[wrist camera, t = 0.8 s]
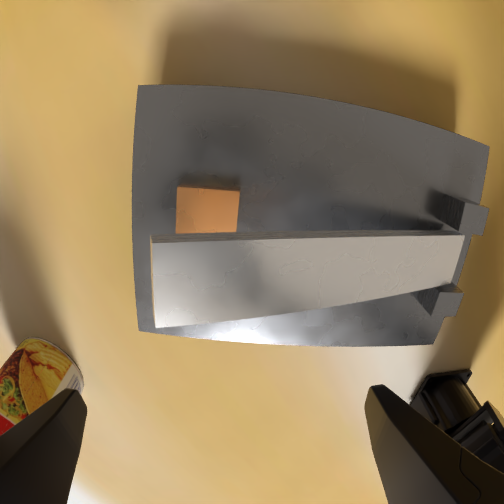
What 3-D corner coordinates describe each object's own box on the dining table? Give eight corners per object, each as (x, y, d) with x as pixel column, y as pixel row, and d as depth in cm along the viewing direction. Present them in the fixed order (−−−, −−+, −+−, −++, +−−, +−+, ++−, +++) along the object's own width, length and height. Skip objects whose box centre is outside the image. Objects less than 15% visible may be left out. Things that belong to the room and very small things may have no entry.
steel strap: (454, 230, 16) (465, 235, 15) (441, 277, 17) (450, 283, 16) (150, 234, 10) (152, 243, 9) (153, 315, 11) (155, 327, 10)
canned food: (10, 330, 23) (-54, 409, 12) (72, 344, 24) (10, 446, 13) (34, 387, 26) (-12, 465, 15) (92, 403, 27) (53, 496, 15)
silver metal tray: (454, 140, 18) (510, 150, 12) (411, 315, 23) (445, 361, 17) (159, 93, 17) (123, 80, 11) (154, 299, 22) (129, 350, 16)
